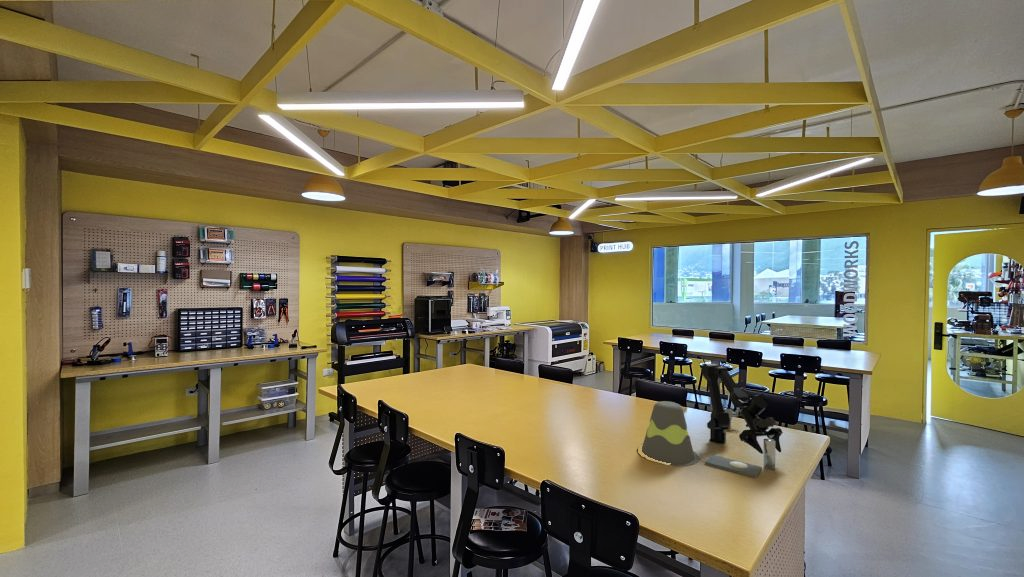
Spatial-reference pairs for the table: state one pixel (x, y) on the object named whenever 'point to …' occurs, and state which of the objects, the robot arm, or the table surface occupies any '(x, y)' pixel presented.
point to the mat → (733, 466)
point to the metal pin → (769, 454)
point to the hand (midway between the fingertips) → (771, 452)
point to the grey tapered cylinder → (669, 436)
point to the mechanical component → (731, 415)
